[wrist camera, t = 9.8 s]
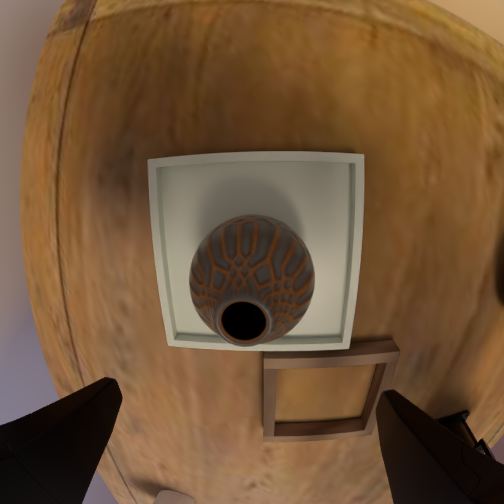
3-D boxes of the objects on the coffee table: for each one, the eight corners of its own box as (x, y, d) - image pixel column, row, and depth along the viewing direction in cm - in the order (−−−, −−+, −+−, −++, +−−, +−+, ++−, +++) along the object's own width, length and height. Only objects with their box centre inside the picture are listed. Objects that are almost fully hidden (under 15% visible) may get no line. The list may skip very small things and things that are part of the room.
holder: (393, 339, 21) (400, 351, 19) (367, 422, 24) (371, 434, 22) (264, 345, 22) (263, 358, 20) (264, 428, 25) (263, 441, 23)
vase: (194, 221, 19) (137, 259, 11) (295, 197, 18) (314, 217, 10) (221, 312, 21) (192, 393, 12) (314, 293, 20) (338, 371, 11)
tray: (357, 155, 18) (364, 154, 16) (344, 338, 21) (348, 348, 20) (156, 160, 19) (147, 159, 17) (173, 336, 22) (168, 345, 21)
